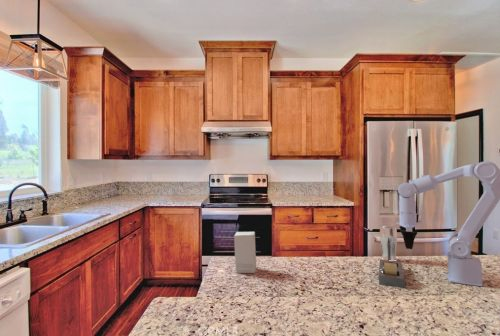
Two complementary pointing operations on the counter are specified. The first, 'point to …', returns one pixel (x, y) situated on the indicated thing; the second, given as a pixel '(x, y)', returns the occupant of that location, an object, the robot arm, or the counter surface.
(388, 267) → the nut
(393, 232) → the beer glass
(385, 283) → the grey piece
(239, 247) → the skincare box
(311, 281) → the counter surface
